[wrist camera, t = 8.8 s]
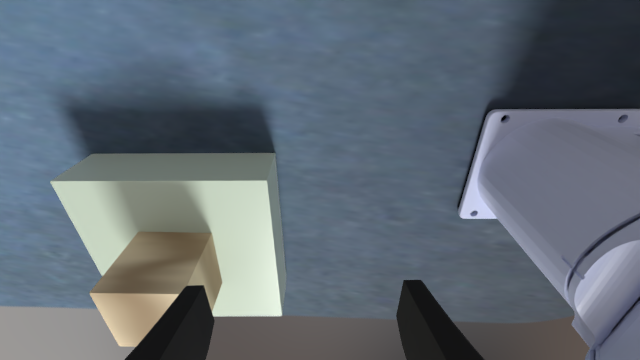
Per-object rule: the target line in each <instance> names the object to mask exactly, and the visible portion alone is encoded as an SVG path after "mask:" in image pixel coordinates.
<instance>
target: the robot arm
mask: <svg viewBox="0 0 640 360" xmlns="http://www.w3.org/2000/svg"><path fill="white" fill-rule="evenodd" d="M504 115H506V118H505V120H503V121H501V118H502V117H503V116H504ZM621 116H622V117H621ZM620 117H621V118H620ZM619 118H620V119H619ZM618 119H619V120H618ZM472 211H474V212H473V213H471V212H472ZM458 214H459V215H460V217H461V218H464V219H498V220H499V221H500V222H501V223H502V225H503V226H504V227H505V228H506V229H507V231H508V232H509V233H510V234H511V235H512V237H513V238H514V239H515V240H516V241H517V243H518V244H519V245H520V246H521V247H522V248H523V250H524V251H525V252H526V253H527V254H528V256H529V257H530V258H531V259H532V260H533V262H534V263H535V264H536V265H537V266H538V268H539V269H540V270H541V271H542V272H543V274H544V275H545V276H546V277H547V278H548V280H549V281H550V282H551V283H552V284H553V286H554V287H555V288H556V289H557V290H558V292H559V293H560V294H561V295H562V296H563V298H564V299H565V300H566V301H567V302H568V304H569V305H570V306H571V307H572V308H573V310H574V312H575V318H574V320H573V322H572V326H573V327H574V328H575V330H576V331H577V332H578V333H579V335H580V336H581V337H582V338H583V340H584V341H585V342H586V344H587V345H588V346H589V347H590V349H589V351H588V353H587V355H586V357H585V360H640V109H495V110H492V111H490V112H489V113H488V114H487V116H486V118H485V122H484V125H483V128H482V132H481V135H480V139H479V142H478V145H477V149H476V152H475V155H474V159H473V162H472V166H471V169H470V172H469V176H468V179H467V182H466V186H465V189H464V193H463V196H462V199H461V203H460V206H459V210H458ZM396 316H397V321H398V327H399V332H400V337H401V341H402V346H403V349H404V353H405V356H406V359H407V360H484V359H483V357H482V356H481V355H480V354H479V353H478V352H477V351H476V350H475V349H474V347H473V346H472V345H471V344H470V342H469V341H468V340H467V339H466V338H465V336H464V335H463V334H462V333H461V331H460V330H459V329H458V328H457V327H456V325H455V324H454V323H453V322H452V320H451V319H450V318H449V317H448V315H447V314H446V313H445V311H444V310H443V309H442V307H441V306H440V305H439V304H438V302H437V301H436V300H435V298H434V297H433V295H432V294H431V293H430V291H429V290H428V289H427V287H426V286H425V284H424V283H423V282H422V281H421V280H404V281H403V286H402V291H401V296H400V301H399V305H398V310H397V315H396ZM213 325H214V317H213V314H212V311H211V307H210V304H209V301H208V297H207V294H206V291H205V287H204V285H192V286H186V287H185V288H184V289H183V290H182V291H181V293H180V294H179V295H178V296H177V298H176V299H175V300H174V301H173V303H172V304H171V305H170V307H169V308H168V309H167V310H166V312H165V313H164V314H163V315H162V316H161V318H160V319H159V320H158V321H157V323H156V324H155V325H154V326H153V327H152V329H151V330H150V331H149V332H148V333H147V334H146V336H145V337H144V338H143V339H142V340H141V342H140V343H139V344H138V345H137V346H136V347H135V349H134V350H133V351H132V352H131V353H130V354H129V355H128V357H127V358H126V359H125V360H205V359H206V356H207V353H208V349H209V345H210V339H211V335H212V330H213Z"/></svg>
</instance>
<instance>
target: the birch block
mask: <svg viewBox="0 0 640 360" xmlns="http://www.w3.org/2000/svg"><path fill="white" fill-rule="evenodd" d="M192 285H204V287H205V291H206V294H207V297H208V301H209V304H210V307H211V311H213V308H214V305H215V302H216V299H217V297H218V294H219V291H220V288H221V285H222V278H221V274H220V269H219V264H218V260H217V255H216V250H215V246H214V241H213V236H212V233H188V232H138V233H137V234H136V235H135V236H134V238H133V239H132V240H131V241H130V243H129V244H128V245H127V246H126V248H125V249H124V250H123V251H122V253H121V254H120V255H119V256H118V258H117V259H116V260H115V261H114V263H113V264H112V265H111V266H110V268H109V269H108V270H107V271H106V273H105V274H104V275H103V276H102V278H101V279H100V280H99V281H98V283H97V284H96V285H95V286H94V288H93V289H92V290H91V291H90V295H91V297H92V299H93V301H94V302H95V304H96V306H97V308H98V309H99V311H100V313H101V315H102V317H103V318H104V320H105V322H106V324H107V325H108V327H109V329H110V331H111V332H112V334H113V336H114V338H115V340H116V341H117V343H118V345H119V346H135V347H136V346H137V345H138V344H139V343H140V342H141V340H142V339H143V338H144V337H145V336H146V334H147V333H148V332H149V331H150V330H151V329H152V327H153V326H154V325H155V324H156V323H157V321H158V320H159V319H160V318H161V316H162V315H163V314H164V313H165V312H166V310H167V309H168V308H169V307H170V305H171V304H172V303H173V301H174V300H175V299H176V298H177V296H178V295H179V294H180V293H181V291H182V290H183V289H184V288H185V287H186V286H192Z"/></svg>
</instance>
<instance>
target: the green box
mask: <svg viewBox="0 0 640 360" xmlns="http://www.w3.org/2000/svg"><path fill="white" fill-rule="evenodd" d="M50 182H51V184H52V186H53V188H54V190H55V191H56V193H57V195H58V197H59V199H60V200H61V202H62V204H63V206H64V208H65V210H66V211H67V213H68V215H69V217H70V219H71V220H72V222H73V224H74V226H75V228H76V230H77V231H78V233H79V235H80V237H81V239H82V240H83V242H84V244H85V246H86V248H87V250H88V251H89V253H90V255H91V257H92V259H93V260H94V262H95V264H96V266H97V268H98V270H99V271H100V273H101V275H102V276H103V275H104V274H105V273H106V271H107V270H108V269H109V268H110V266H111V265H112V264H113V263H114V261H115V260H116V259H117V258H118V256H119V255H120V254H121V253H122V251H123V250H124V249H125V248H126V246H127V245H128V244H129V243H130V241H131V240H132V239H133V238H134V236H135V235H136V234H137V233H138V232H188V233H212V236H213V241H214V246H215V250H216V255H217V260H218V264H219V269H220V274H221V278H222V285H221V288H220V291H219V294H218V297H217V299H216V302H215V305H214V308H213V311H212V314H213V316H282V312H283V304H284V295H285V287H286V267H285V256H284V245H283V234H282V223H281V211H280V200H279V189H278V178H277V167H276V155H275V153H142V154H91V155H89V156H88V157H86V158H85V159H83V160H82V161H80V162H79V163H77V164H76V165H74V166H73V167H71V168H70V169H68V170H66V171H65V172H63V173H62V174H60V175H59V176H57V177H56V178H54V179H53V180H51V181H50Z"/></svg>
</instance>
